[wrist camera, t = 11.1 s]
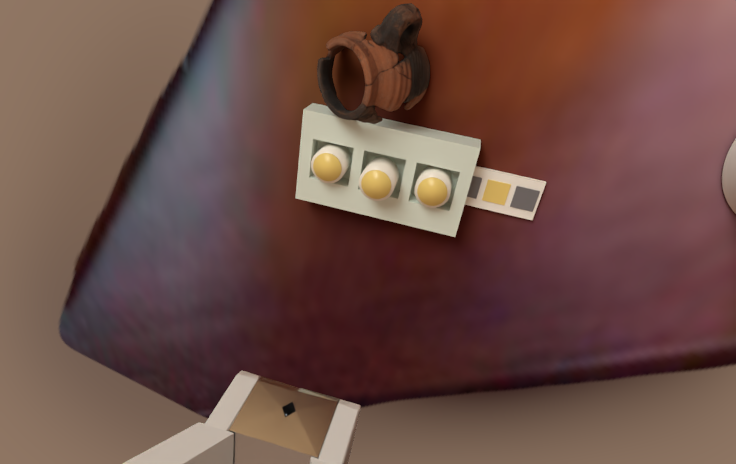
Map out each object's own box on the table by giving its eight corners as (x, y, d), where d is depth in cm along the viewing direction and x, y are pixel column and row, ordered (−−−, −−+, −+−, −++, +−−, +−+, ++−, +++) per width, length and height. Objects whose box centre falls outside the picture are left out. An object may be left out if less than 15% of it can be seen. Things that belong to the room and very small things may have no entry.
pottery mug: (412, 131, 50) (357, 149, 45) (356, 76, 53) (298, 87, 48) (470, 27, 42) (411, 34, 36) (399, -32, 44) (335, -33, 39)
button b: (402, 161, 49) (397, 172, 46) (395, 193, 50) (390, 205, 47) (368, 153, 49) (361, 163, 46) (363, 185, 51) (355, 197, 48)
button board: (480, 139, 48) (480, 148, 46) (456, 224, 53) (455, 237, 51) (312, 103, 50) (303, 109, 48) (304, 188, 55) (295, 198, 53)
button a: (456, 168, 49) (454, 179, 46) (447, 199, 51) (445, 212, 48) (422, 161, 50) (418, 171, 47) (415, 192, 51) (410, 203, 49)
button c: (353, 145, 50) (346, 155, 48) (349, 176, 52) (341, 187, 49) (321, 138, 51) (312, 147, 48) (318, 169, 53) (308, 179, 50)
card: (545, 181, 49) (546, 183, 48) (532, 218, 51) (532, 220, 51) (459, 162, 50) (459, 163, 49) (449, 199, 52) (449, 201, 52)
